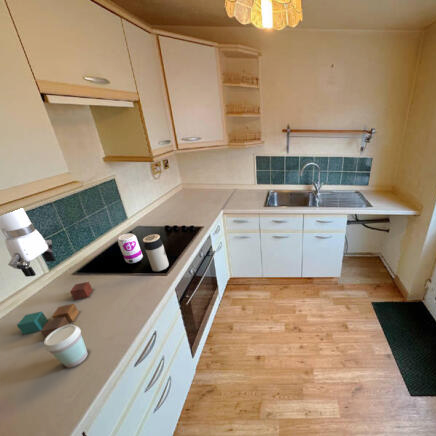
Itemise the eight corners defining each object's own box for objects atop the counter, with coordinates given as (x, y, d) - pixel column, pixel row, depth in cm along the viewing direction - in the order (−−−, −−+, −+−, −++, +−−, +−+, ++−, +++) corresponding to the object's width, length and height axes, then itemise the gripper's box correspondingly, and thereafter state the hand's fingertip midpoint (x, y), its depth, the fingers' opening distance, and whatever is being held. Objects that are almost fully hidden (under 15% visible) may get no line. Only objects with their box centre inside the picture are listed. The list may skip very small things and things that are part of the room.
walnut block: (47, 341, 83) (40, 331, 80) (54, 329, 87) (48, 320, 85) (64, 336, 84) (57, 327, 82) (70, 325, 88) (64, 316, 86)
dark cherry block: (74, 300, 101) (69, 291, 98) (79, 292, 105) (75, 284, 103) (88, 297, 102) (83, 288, 100) (92, 289, 106) (88, 281, 104)
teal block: (23, 334, 85) (16, 325, 83) (32, 324, 89) (25, 314, 87) (40, 330, 87) (33, 321, 85) (48, 320, 91) (41, 311, 89)
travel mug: (150, 272, 117) (139, 242, 109) (155, 263, 124) (145, 234, 116) (166, 270, 118) (157, 240, 111) (170, 261, 126) (162, 233, 118)
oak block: (57, 325, 89) (51, 316, 86) (64, 315, 93) (58, 306, 91) (73, 321, 90) (67, 312, 88) (79, 312, 94) (73, 303, 92)
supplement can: (144, 260, 127) (135, 236, 121) (126, 265, 123) (117, 242, 116) (142, 253, 133) (134, 231, 127) (125, 258, 129) (116, 235, 122)
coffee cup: (94, 342, 82) (80, 318, 77) (91, 362, 75) (75, 337, 70) (62, 355, 78) (45, 331, 72) (56, 377, 71) (37, 352, 66)
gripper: (29, 221, 92) (49, 256, 100) (-17, 243, 77) (10, 283, 84) (49, 220, 93) (67, 255, 101) (8, 242, 78) (33, 281, 85)
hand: (41, 268), depth 92 cm, fingers open, 9 cm apart
